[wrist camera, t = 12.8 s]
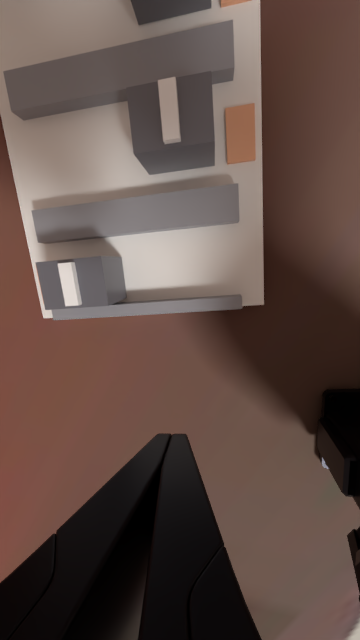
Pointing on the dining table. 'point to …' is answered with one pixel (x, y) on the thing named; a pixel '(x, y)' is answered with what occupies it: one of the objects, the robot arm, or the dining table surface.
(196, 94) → the tab
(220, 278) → the switch board
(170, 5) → the tab
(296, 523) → the dining table surface
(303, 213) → the dining table surface
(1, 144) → the dining table surface
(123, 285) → the tab
